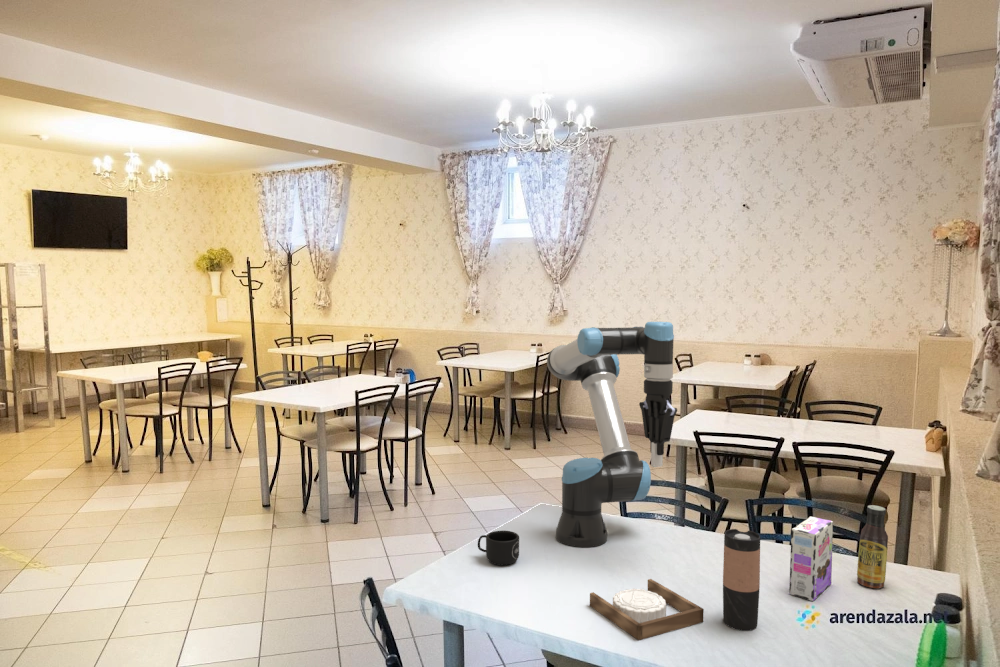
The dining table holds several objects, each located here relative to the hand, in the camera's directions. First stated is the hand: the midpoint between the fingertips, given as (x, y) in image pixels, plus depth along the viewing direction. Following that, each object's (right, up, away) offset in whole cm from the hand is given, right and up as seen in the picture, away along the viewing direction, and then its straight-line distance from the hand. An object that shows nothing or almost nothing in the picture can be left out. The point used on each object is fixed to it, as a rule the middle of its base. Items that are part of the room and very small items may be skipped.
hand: (656, 466), depth 185 cm
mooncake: (-10, -29, -28) cm, 41 cm away
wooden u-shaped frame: (-9, -28, -29) cm, 41 cm away
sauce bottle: (+51, -28, -13) cm, 59 cm away
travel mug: (+11, -29, -33) cm, 45 cm away
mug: (-43, -26, +2) cm, 51 cm away
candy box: (+34, -28, -16) cm, 47 cm away
